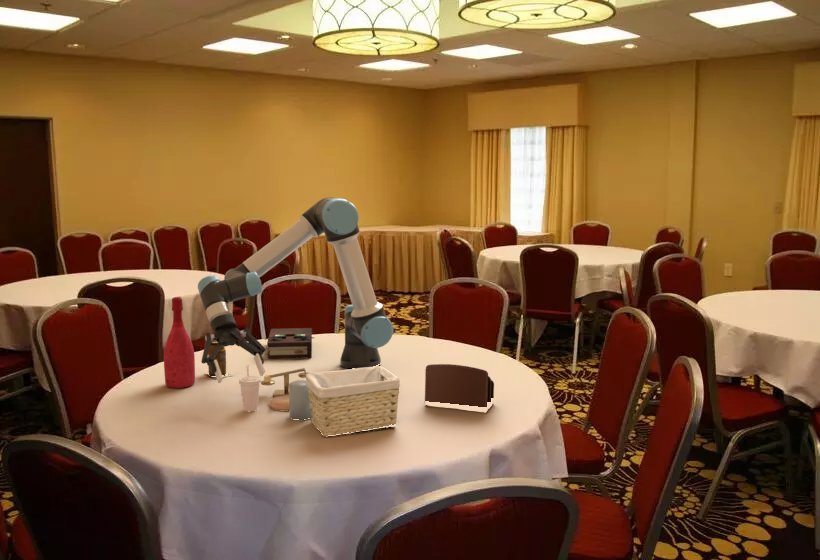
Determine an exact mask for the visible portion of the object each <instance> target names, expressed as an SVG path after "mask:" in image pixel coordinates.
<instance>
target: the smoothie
mask: <svg viewBox="0 0 820 560" xmlns="http://www.w3.org/2000/svg"><path fill="white" fill-rule="evenodd" d="M249 373H250V367H249V364H247V365H246V376H242V377H240V378H239V379H238V381H239V382H238V384H239V385H240V391H241V397H242V403H243V410H245V411H244V412H246V411H254V412H256V411H257V410H258V403H259V402H258V401H259V390H260V384H261V381H262V380H261V378H260V377H259V376H255V375H254V376H253V375H252V376H251V375H250V374H249ZM255 410H256V411H255Z"/></svg>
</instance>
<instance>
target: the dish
mask: <svg viewBox="0 0 820 560" xmlns="http://www.w3.org/2000/svg"><path fill="white" fill-rule="evenodd" d="M269 407H270V408H271V409H272V410H275V409H276V411H281V410H288V411H287V412H290V406H289V395H282V396H277V397H272V398H271V399H270V400H269Z"/></svg>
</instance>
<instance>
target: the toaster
mask: <svg viewBox="0 0 820 560" xmlns="http://www.w3.org/2000/svg"><path fill="white" fill-rule="evenodd" d="M424 374H425V377H424V380H425V381H424V383H425V385H424V402H425V401H429V402H440V403H450V404H459V405H469V406H478V407H487V402H491V398H494V399H495V382H494V381H493V380H492V378H491V377H490V376H489V373H488V371H487V370H485V369H483V368H482V369H481V368H479V367H478V368H477V367H473V366H468V365H459V364H450V363H449V364H448V363H446V364H445V363H439V364H437V363H436V364H427V365H426V367H425V373H424Z"/></svg>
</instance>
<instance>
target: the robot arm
mask: <svg viewBox="0 0 820 560" xmlns="http://www.w3.org/2000/svg"><path fill="white" fill-rule="evenodd" d="M359 218H360V215H359V212H358V209H357V207H356V206H355V204H353V203H352V202H351V201H348V200H347V199H345V198H342V197H332V196H329V197H324V198H321V199H319V200H318V201H317V202H315V203H314V204H313V205H311V207H309V208H308V209H307V210H306V211H304V212H303V213H302V214H301V215H300V216H299V218H298V219H299V220H297V221H296V222H294V223H293V224H292V225H291V226H289V227H288V228H287V229H285V230H284V231H283V232H281V233H280V234H279V235H277V236H276V237H275V238H274V239H273V240H270V242H268V243H267V244H266V245H264V246H263V247H262V248H260V249H259V250H258V251H256V252H255V253H253V254H252V255H251V256H250V257H248V258H247V259H246V260H244V261H243V262H242V263H241V264H239V265H238V266H236V267H235V268H230V269H229V270H227V271H226V273H225V275H224V278H223V279H220V278H219V276H217V275H207V276H205V277H202V278H201V279H200V280H199V281H198V283H197V290H198V293H199V297H200V299H201V302H202V304H203V308H204V310H205V314H206V316H207V317H206V318H207V319H208V322H209V324H210V325H209V326H210V328H211V331H212V333H211V332H206V334H205V335H204V343H205V344H204V349H203V352H202V357H201V364H206V365H207V367H208V366H210V369H211V372H212V373H215V375H216V378H217V379H216V378H215V379H216V381H217V383H218V384H221V383H222V381H223V379H224V377H222V374H221V371H220V368H219V365H218V362H217V360H214V358H215V356H216V355H217V353H218V351H219V349H220V347H221V346H222V345H223V346H225V347H224V348H226V347H229V346H230V347H231V346H236V347H240V348H242V349H244V350H245V351H246V352H248V353H249V354H250V355H253V356H254V357H253V360H254V363H255V365H256V368H257V370H258V373H259V375H260V377H262V376H263V377H264V375H265V372H266V370H265V366H264V363H265V361H264V357H263V355H264V354H265V352H266V350H267V349H266V347H265V346H264V345H263V344H262V343H261V342H260V341H258V339H257V338H256V337H254V335H252V333H251V332H250V330H249V328H247V327H245V328H244V329H242V330H240V329H238V326H237V323H236V320H235V317H234V316H233V312H232V309H231V307H230V304H229V303H232V302H236V301H239V300H242V299H246V298H250V297H254V296H256V295H258V294H261V293H262V291H263V285H262V281H261V279H260V278H261V277H263V276H264V275H265V274H266V273H267V272H268V271H270V270H272V269H273V268H274V267H275V266H276V265H278V264H279V263H280V262H282V261H283V260H284V259H286V258H287V257H289V255H291V254H292V253H293V252H295V251H296V250H297V249H299V248H300V247H301V246H303V245H305V243H306V242H308V241H309V240H311V239H312V238H318V237H319V236H321V235H323V234H324V236H325V238H326V239H325V240H326V242H327V243H328V244H331V245H332V246H333V248H334V251H335V255H336V259H337V261H338V264H339V267H340V271H341V274H342V277H343V280H344V283H345V286H346V289H347V292H348V295H349V298H350V302H351V304H348V305H346V306H345V308H344V313H343V314H344V347H343V350H342V353H341V356H340V360H339V363H340V364H341V365H340V364H339V365H340V366H341V367H342V366H343V367H342V368H344V367H346V368H345V369H347V368H355V369H356V368H365V367H373V366H376V365H378V364H380V363H381V361H382V359H381V355H380V353H379V350H378V349H379V348H382V347H384V346H386V345H387V344H388V343H389V342H390V341H391V339H392V338H393V336H394V326H393V323H392V322H391V320H390V318H388V317H387V314H386V311H385V309H384V304H382V303H381V302H379V301H378V300H377V297H376V293H375V291H374V289H373V287H374V286H373V284H372V281H371V277H370V275H369V271H368V267H367V265H366V262H365V260H364V256H363V253H362V252H363V251H362V249H361V246H360V243H359V240H358V237H359V235H360V232H361V231H360V228H359V224H358V223H359ZM213 340H216V341H217V342H218V344H217V346H216V348H215V349H214V351H213V353H212V355H211V357H210V358H209V357H208V353H209V348H210V343H211V341H213ZM381 364H382V363H381Z"/></svg>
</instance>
